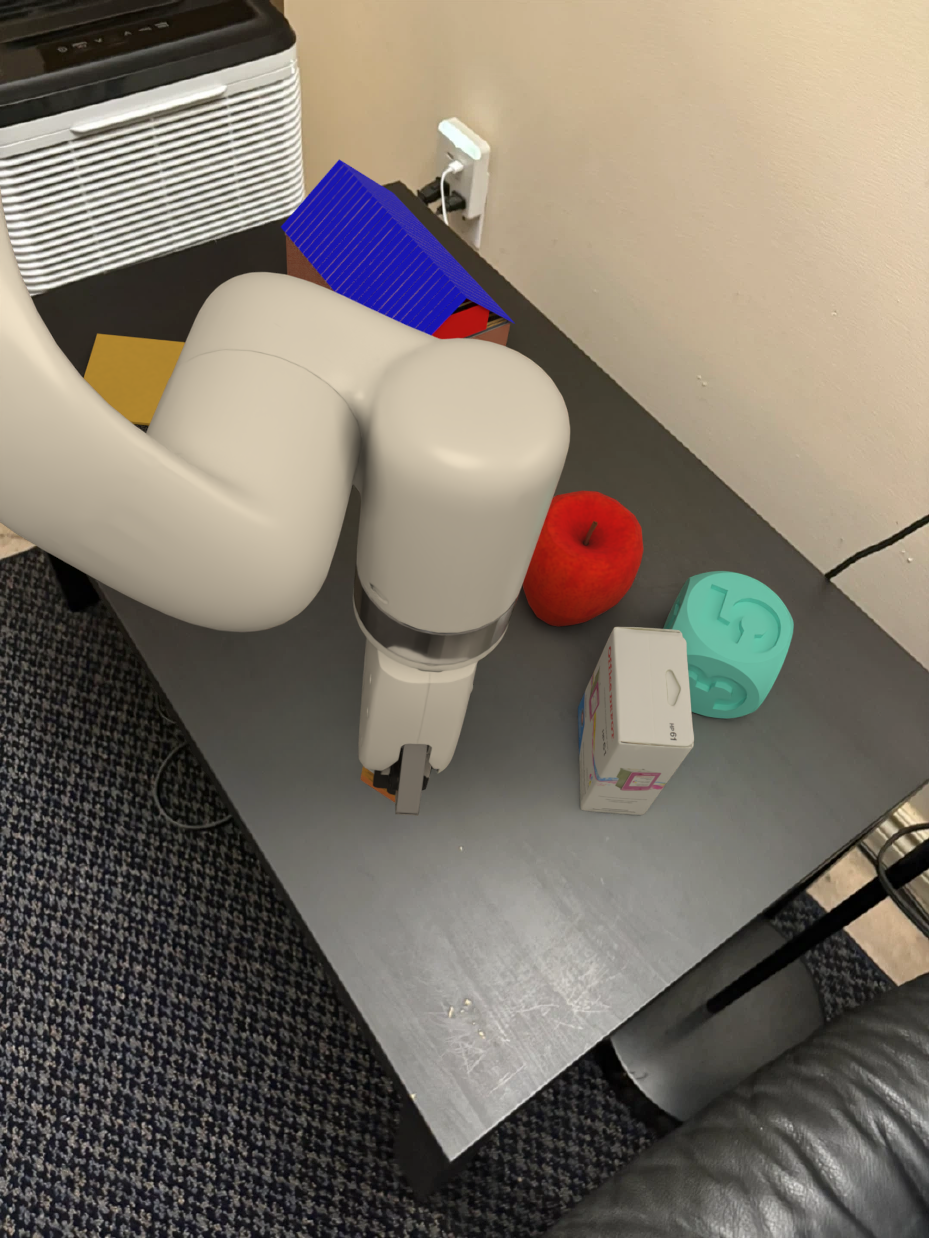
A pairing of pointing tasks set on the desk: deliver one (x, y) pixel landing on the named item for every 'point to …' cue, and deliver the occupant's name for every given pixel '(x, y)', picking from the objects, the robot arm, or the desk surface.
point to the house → (386, 260)
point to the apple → (583, 558)
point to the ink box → (634, 720)
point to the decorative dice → (730, 641)
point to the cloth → (132, 373)
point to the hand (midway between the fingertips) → (401, 746)
